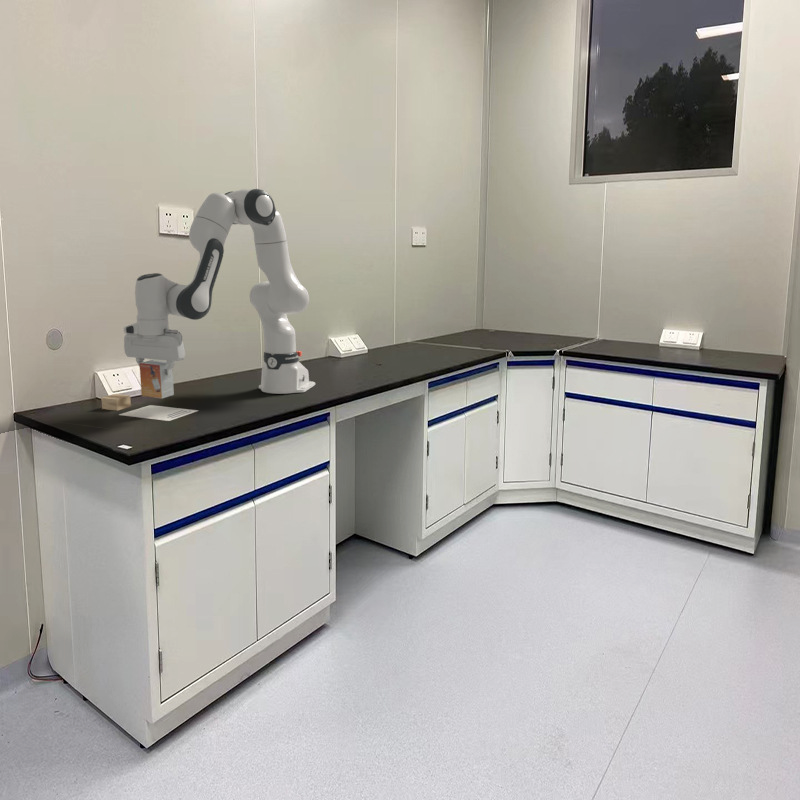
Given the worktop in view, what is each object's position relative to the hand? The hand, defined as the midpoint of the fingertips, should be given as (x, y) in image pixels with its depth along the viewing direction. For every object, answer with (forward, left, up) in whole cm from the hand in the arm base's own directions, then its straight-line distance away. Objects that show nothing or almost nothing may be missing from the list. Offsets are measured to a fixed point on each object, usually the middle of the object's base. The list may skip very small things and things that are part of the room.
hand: (156, 373), depth 201 cm
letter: (0, 0, -13) cm, 13 cm away
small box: (0, 0, -7) cm, 7 cm away
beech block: (0, -17, -13) cm, 21 cm away
